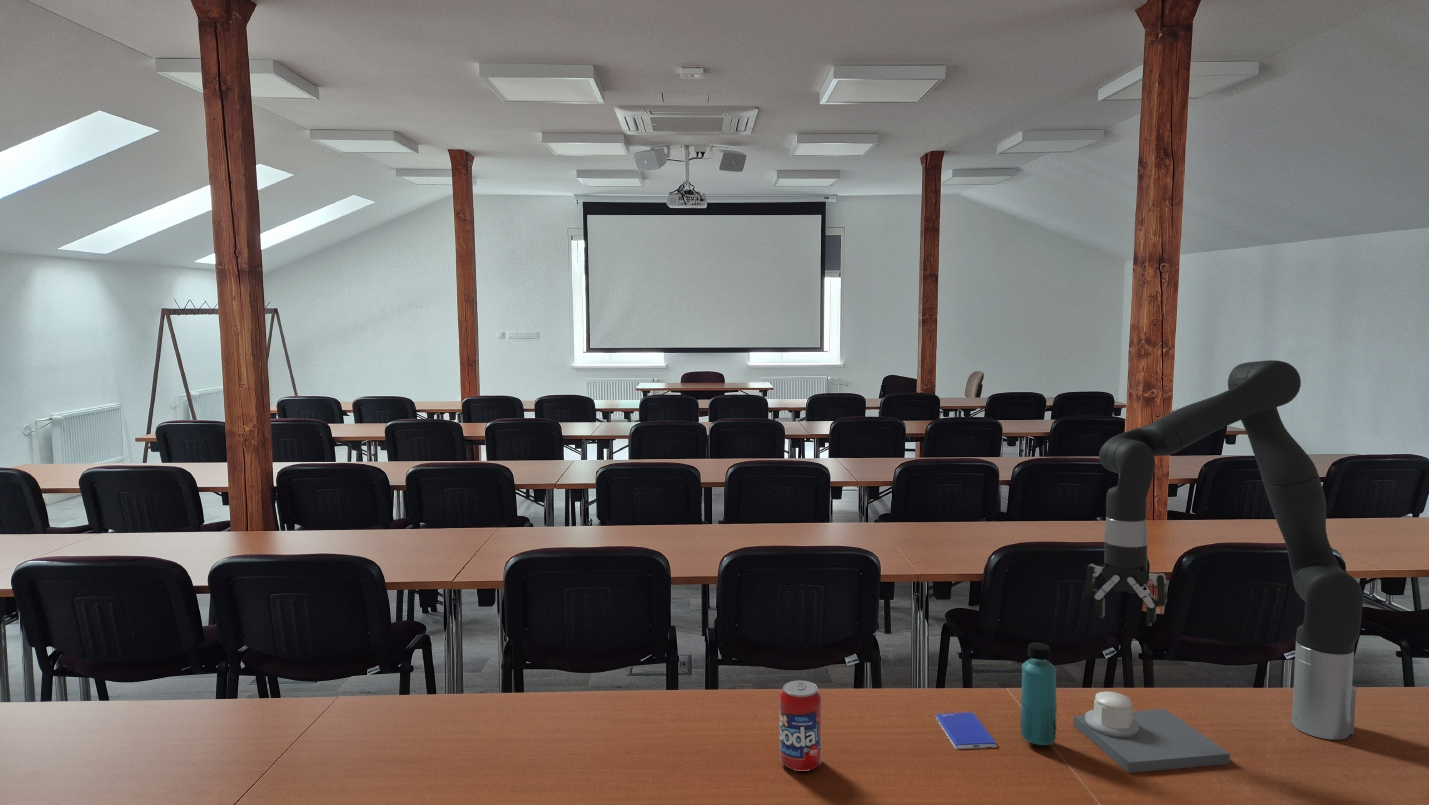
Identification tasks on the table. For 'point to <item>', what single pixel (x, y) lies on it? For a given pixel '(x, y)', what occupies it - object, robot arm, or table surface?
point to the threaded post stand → (1153, 742)
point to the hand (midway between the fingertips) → (1125, 620)
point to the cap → (1113, 710)
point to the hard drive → (965, 730)
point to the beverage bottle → (1038, 696)
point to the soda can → (800, 725)
